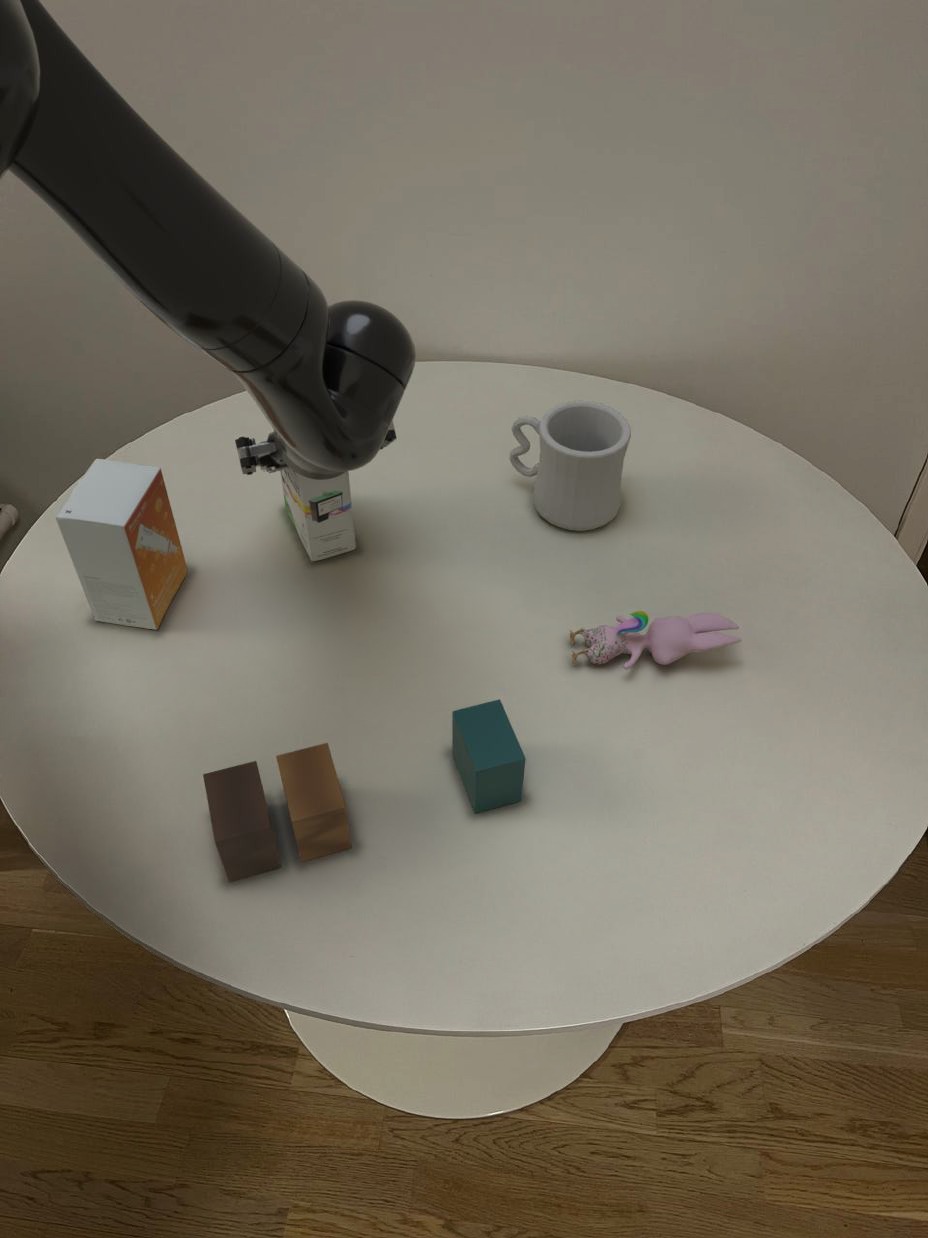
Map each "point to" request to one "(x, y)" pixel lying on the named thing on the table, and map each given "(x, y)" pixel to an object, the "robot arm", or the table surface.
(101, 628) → the table surface
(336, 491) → the ink box
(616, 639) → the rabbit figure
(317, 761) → the oak block
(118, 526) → the small box
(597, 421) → the mug
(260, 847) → the walnut block
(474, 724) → the teal block
